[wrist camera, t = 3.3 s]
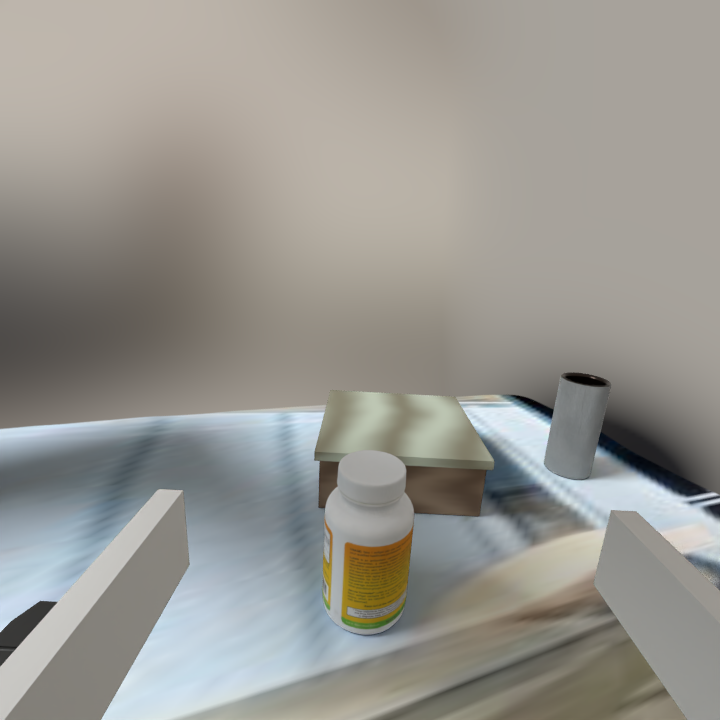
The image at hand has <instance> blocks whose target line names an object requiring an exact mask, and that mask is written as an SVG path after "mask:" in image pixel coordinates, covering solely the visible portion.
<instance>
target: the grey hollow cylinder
mask: <svg viewBox="0 0 720 720" xmlns="http://www.w3.org/2000/svg"><path fill="white" fill-rule="evenodd" d="M610 389H611V383H610V382H609V381H607V380H605V379H603V378H600V377H597V376H593V375H589V374H583V373H564V374H562V375H561V378H560V383H559V388H558V393H557V398H556V403H555V408H554V413H553V418H552V423H551V428H550V433H549V438H548V443H547V448H546V453H545V459H544V464H545V466H546V467H547V468H548V469H549V470H550V471H552V472H553V473H555V474H557V475H560V476H562V477H566V478H570V479H585V478H588V477H589V475H590V472H591V469H592V465H593V460H594V456H595V452H596V448H597V444H598V439H599V435H600V431H601V427H602V422H603V418H604V414H605V410H606V406H607V401H608V397H609V393H610Z"/></svg>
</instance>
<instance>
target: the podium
mask: <svg viewBox="0 0 720 720" xmlns="http://www.w3.org/2000/svg"><path fill="white" fill-rule="evenodd" d="M362 450H375V451H381V452H386V453H389V454H391V455H394V456H395V457H397V458H398V459H400V460H401V461H402V462H403V463H404V465H405V467H406V487H405V491H404V492H405V493H406V494H407V496H408V497H409V499H410V500H411V503H412V505H413V509H414V513H428V514H446V515H465V516H479V515H480V508H481V502H482V495H483V489H484V483H485V476H486V470H493V468H494V462H495V461H494V460H493V458H492V456H491V455H490V453H489V452H488V450H487V448H486V447H485V445H484V443H483V442H482V440H481V438H480V437H479V435H478V433H477V432H476V430H475V429H474V427H473V425H472V424H471V422H470V420H469V419H468V417H467V415H466V414H465V412H464V410H463V409H462V407H461V406H460V404H459V402H458V401H457V399H456V397H449V396H430V395H429V396H428V395H412V394H393V393H375V392H355V391H337V390H331V391H330V394H329V398H328V402H327V406H326V410H325V414H324V417H323V421H322V425H321V429H320V433H319V437H318V441H317V445H316V448H315V459H314V460H315V461H320V471H319V508H325V506H326V502H327V499H328V497H329V496H330V494H331V493H332V491H333V490H334V489H335V488H336V487H338V484H337V478H338V466H339V463H340V461H341V459H342V458H343V457H344V456H346V455H348V454H350V453H352V452H356V451H362Z"/></svg>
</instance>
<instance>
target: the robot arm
mask: <svg viewBox="0 0 720 720" xmlns="http://www.w3.org/2000/svg"><path fill="white" fill-rule="evenodd" d="M188 566H189V553H188V541H187V529H186V517H185V505H184V493H183V490H168V489H158V490H157V491H156V492H155V493H154V495H153V496H152V497H151V498H150V499H149V500H148V501H147V502H146V504H145V505H144V506H143V507H142V508H141V509H140V510H139V511H138V513H137V514H136V515H135V516H134V517H133V518H132V519H131V520H130V522H129V523H128V524H127V525H126V526H125V527H124V528H123V529H122V531H121V532H120V533H119V534H118V535H117V536H116V537H115V538H114V539H113V541H112V542H111V543H110V544H109V545H108V546H107V547H106V548H105V550H104V551H103V552H102V553H101V554H100V555H99V556H98V557H97V559H96V560H95V561H94V562H93V563H92V564H91V565H90V566H89V568H88V569H87V570H86V571H85V572H84V573H83V574H82V575H81V577H80V578H79V579H78V580H77V581H76V582H75V583H74V584H73V586H72V587H71V588H70V589H69V590H68V591H67V592H66V593H65V595H64V596H63V597H62V598H61V599H60V600H59V601H58V602H48V601H40V602H38V603H37V604H35V605H34V606H32V607H31V608H30V609H28V610H27V611H25V612H24V613H22V614H21V615H20V616H18V617H17V618H15V619H14V620H12V621H11V622H10V623H9V624H8V625H7V626H6V627H5V628H4V629H3V630H2V631H1V632H0V720H101V719H102V717H103V715H104V713H105V712H106V710H107V708H108V706H109V705H110V703H111V701H112V699H113V698H114V696H115V694H116V692H117V691H118V689H119V687H120V685H121V684H122V682H123V680H124V678H125V677H126V675H127V673H128V671H129V670H130V668H131V666H132V664H133V663H134V661H135V659H136V657H137V656H138V654H139V652H140V650H141V649H142V647H143V645H144V643H145V642H146V640H147V638H148V636H149V635H150V633H151V631H152V629H153V628H154V626H155V624H156V622H157V621H158V619H159V617H160V615H161V614H162V612H163V610H164V608H165V607H166V605H167V603H168V601H169V600H170V598H171V596H172V594H173V593H174V591H175V589H176V587H177V586H178V584H179V582H180V580H181V579H182V577H183V575H184V573H185V572H186V570H187V568H188ZM593 584H594V586H595V587H596V588H597V590H598V591H599V593H600V594H601V596H602V597H603V599H604V600H605V601H606V603H607V604H608V606H609V607H610V609H611V610H612V612H613V613H614V614H615V616H616V617H617V619H618V620H619V622H620V623H621V625H622V626H623V628H624V629H625V630H626V632H627V633H628V635H629V636H630V638H631V639H632V641H633V642H634V643H635V645H636V646H637V648H638V649H639V651H640V652H641V654H642V655H643V656H644V658H645V659H646V661H647V662H648V664H649V665H650V667H651V668H652V669H653V671H654V672H655V674H656V675H657V677H658V678H659V680H660V681H661V682H662V684H663V685H664V687H665V688H666V690H667V691H668V693H669V694H670V695H671V697H672V698H673V700H674V701H675V703H676V704H677V706H678V707H679V708H680V710H681V711H682V713H683V714H684V716H685V717H686V719H687V720H720V590H719V589H717V588H716V587H715V586H714V585H713V584H712V583H711V582H710V581H709V580H708V579H707V578H706V577H705V576H704V575H703V574H702V573H701V572H700V571H698V570H697V569H696V568H695V567H694V566H693V565H692V564H691V563H690V562H689V561H688V560H687V559H686V558H685V557H684V556H683V555H682V554H681V553H679V552H678V551H677V550H676V549H675V548H674V547H673V546H672V545H671V544H670V543H669V542H668V541H667V540H666V539H665V538H664V537H663V536H662V535H661V534H659V533H658V532H657V531H656V530H655V529H654V528H653V527H652V526H651V525H650V524H649V523H648V522H647V521H646V520H645V519H644V518H643V517H642V516H640V515H639V514H638V513H637V512H636V511H616V510H611V513H610V517H609V521H608V525H607V529H606V534H605V538H604V542H603V546H602V550H601V554H600V558H599V563H598V567H597V571H596V575H595V579H594V583H593Z"/></svg>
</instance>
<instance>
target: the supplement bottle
mask: <svg viewBox="0 0 720 720" xmlns="http://www.w3.org/2000/svg"><path fill="white" fill-rule="evenodd" d="M337 484H338V487H336V488H335V489H334V490H333V491H332V493H331V494H330V496H329V497H328V499H327V502H326V506H325V522H324V551H323V553H324V555H323V584H322V592H323V603H324V607H325V610H326V612H327V614H328V615H329V617H330V618H331V619H332V620H333V621H334V622H335V623H336V624H337V625H338V626H340V627H341V628H343V629H345V630H347V631H350V632H352V633H357V634H364V635H370V634H377V633H380V632H383V631H385V630H387V629H389V628H390V627H391V626H393V625H394V624H395V623H396V622H397V621H398V620H399V618H400V617H401V615H402V613H403V610H404V607H405V602H406V594H407V583H408V573H409V563H410V553H411V543H412V534H413V524H414V509H413V505H412V503H411V500H410V499H409V497H408V496H407V494H406V493H405V492H404V491H405V487H406V467H405V465H404V463H403V462H402V461H401V460H400V459H398V458H397V457H395V456H394V455H391V454H389V453H386V452H381V451H375V450H362V451H356V452H352V453H350V454H348V455H346V456H344V457H343V458H342V459H341V461H340V463H339V466H338V478H337Z"/></svg>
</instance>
